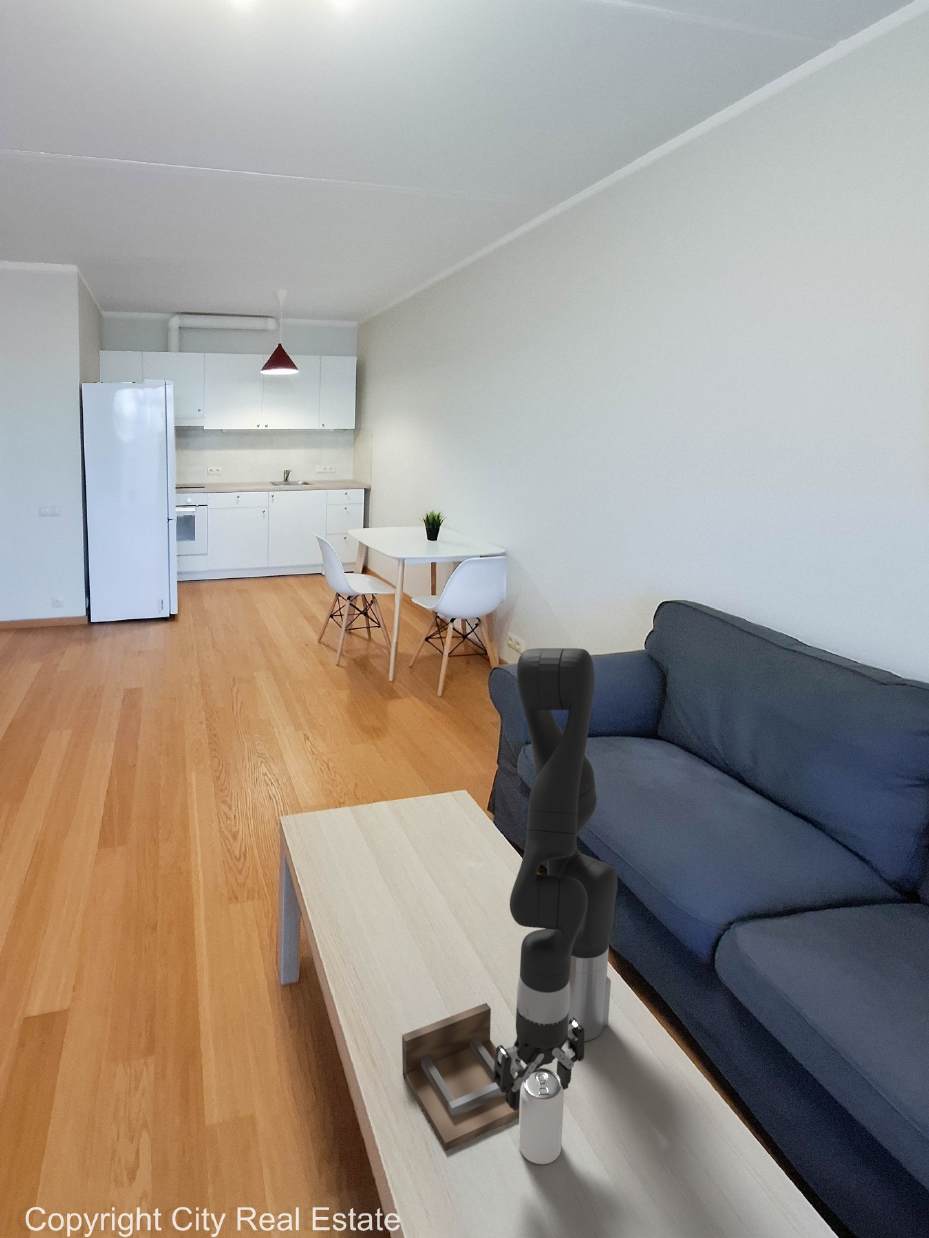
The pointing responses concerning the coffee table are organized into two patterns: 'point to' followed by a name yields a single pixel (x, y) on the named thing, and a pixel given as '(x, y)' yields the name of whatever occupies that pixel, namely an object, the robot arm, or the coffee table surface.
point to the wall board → (456, 1076)
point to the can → (541, 1116)
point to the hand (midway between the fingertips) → (537, 1095)
